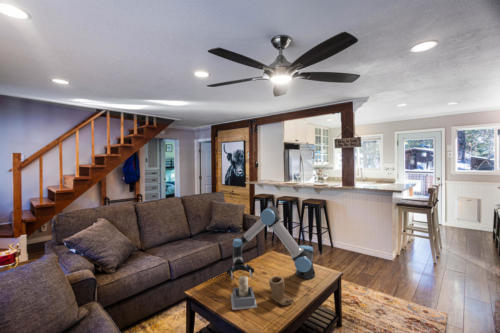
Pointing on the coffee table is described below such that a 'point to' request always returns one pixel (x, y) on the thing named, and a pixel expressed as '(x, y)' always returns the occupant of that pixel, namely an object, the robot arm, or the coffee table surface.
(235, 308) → the well
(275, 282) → the tan boot
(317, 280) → the coffee table surface
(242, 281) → the peg
